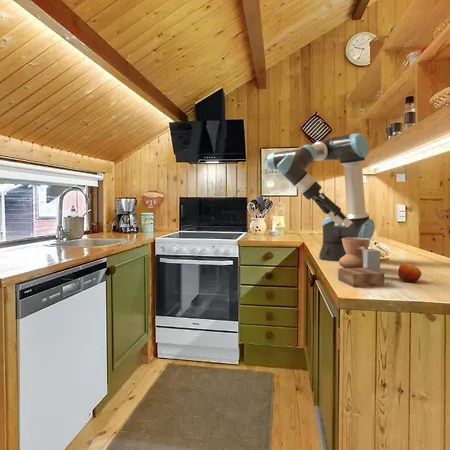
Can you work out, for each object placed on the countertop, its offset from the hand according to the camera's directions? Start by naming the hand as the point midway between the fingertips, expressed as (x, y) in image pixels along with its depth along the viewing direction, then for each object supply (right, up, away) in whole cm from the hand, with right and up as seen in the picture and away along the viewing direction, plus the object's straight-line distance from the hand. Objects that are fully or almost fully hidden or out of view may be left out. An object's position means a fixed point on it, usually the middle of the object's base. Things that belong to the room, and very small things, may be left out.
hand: (344, 224), depth 147 cm
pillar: (+11, -22, +1) cm, 24 cm away
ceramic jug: (+11, -21, +18) cm, 30 cm away
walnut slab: (+2, -23, -10) cm, 25 cm away
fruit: (+22, -22, -8) cm, 32 cm away
